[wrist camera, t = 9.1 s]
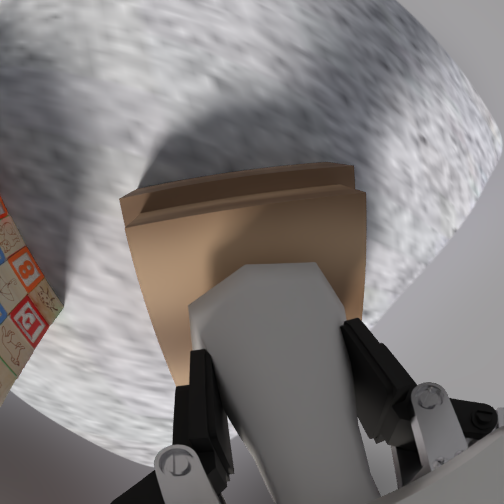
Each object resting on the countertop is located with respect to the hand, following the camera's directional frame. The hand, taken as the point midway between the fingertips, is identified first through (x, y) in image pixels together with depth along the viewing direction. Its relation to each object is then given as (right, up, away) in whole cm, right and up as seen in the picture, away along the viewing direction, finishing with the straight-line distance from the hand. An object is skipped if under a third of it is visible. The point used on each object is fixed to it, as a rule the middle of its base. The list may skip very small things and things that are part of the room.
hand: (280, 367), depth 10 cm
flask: (0, +1, +2) cm, 3 cm away
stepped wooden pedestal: (-2, +4, +10) cm, 11 cm away
